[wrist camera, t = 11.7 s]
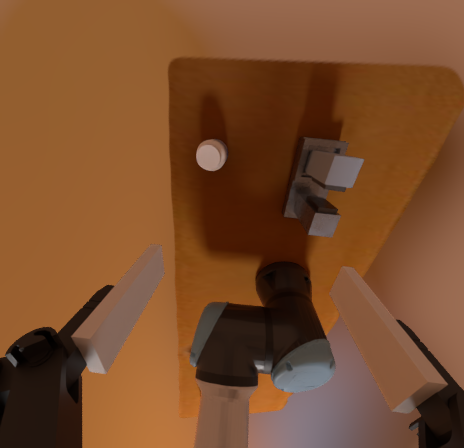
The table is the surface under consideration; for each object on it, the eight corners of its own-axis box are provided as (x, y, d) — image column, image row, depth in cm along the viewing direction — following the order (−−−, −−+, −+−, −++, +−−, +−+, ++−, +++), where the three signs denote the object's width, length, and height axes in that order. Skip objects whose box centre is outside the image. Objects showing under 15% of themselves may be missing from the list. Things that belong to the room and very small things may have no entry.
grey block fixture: (314, 216, 41) (339, 246, 30) (281, 212, 41) (295, 240, 30) (339, 141, 34) (384, 144, 23) (299, 136, 34) (326, 138, 23)
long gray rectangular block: (323, 178, 35) (349, 193, 26) (303, 175, 35) (322, 189, 26) (332, 152, 33) (364, 159, 24) (310, 149, 33) (335, 155, 24)
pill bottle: (206, 167, 38) (196, 176, 30) (200, 141, 36) (188, 143, 28) (230, 164, 37) (226, 171, 29) (226, 136, 35) (220, 137, 27)
